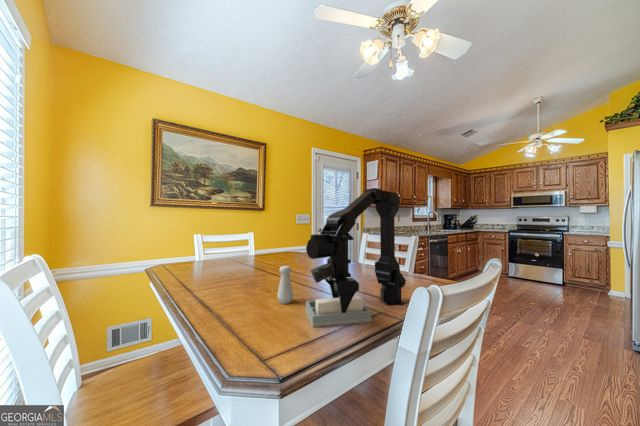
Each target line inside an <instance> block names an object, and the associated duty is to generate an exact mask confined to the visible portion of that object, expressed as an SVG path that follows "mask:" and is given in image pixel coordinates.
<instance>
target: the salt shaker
mask: <svg viewBox="0 0 640 426" xmlns="http://www.w3.org/2000/svg"><path fill="white" fill-rule="evenodd" d="M278 272H279V273H280V281H279V284H278V290H277V299H278V302H279V304H283V305H286V304H287V305H288V304H291V303H292V300H293V298H294V292H293V286H292V279H291V274H290V273H292V267H291V266H289V265H283V266H280V267H279V271H278Z"/></svg>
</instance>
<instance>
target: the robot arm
mask: <svg viewBox="0 0 640 426" xmlns="http://www.w3.org/2000/svg"><path fill="white" fill-rule="evenodd" d="M372 205H374V206H375V211H376V213H377V214H378V215H379V219H380V221H379V224H380V225H379V226H380V227H379V229H380V230H379V231H380V233H379V234H380V238H379V239H380V240H379V241H380V242H379V243H380V257H379V258H378V260H377V261H375V262H374V273H375V277H376V280H377V284H381V288H380V297H379V300H380V301H381V302H383V303H384V304H386V305H402V304H404V303H405V302H404V301H403V300H402V288H404V287H405V286H406V278H405V277H404V276H403V274H402V273H401V267H400V263H399V261H398V260H397V258H396V256H395V255H396V253H395V252H396V251H395V250H396V249H395V248H396V247H395V246H396V242H395V240H396V239H395V238H396V237H395V217H396V215H397V213H399V210H400V196H399V195H398V194H397V193H396V192H395V191H393V192H391V191H388V190H383V189H380V188H377V187H373V188H372V187H371V188H367V189H365V190H364V191H363V192H362V194H360V195H359V196H358V197H357V198H355V199H354V200H353V201H352V202H351V203H349V205H347V206H346V207H345V208H343V209H340V210H338V211H336V212H334V213H331V214H330V215H328V217H326V221H325V224H324V225H323V227H322V229H321V231H320V233H318V234H311V235H310V239H309V240H308V241H307V244H306V246H305V247H306V250H305V251H306V254H307V256H308V258H310V259H312V260H315V259H323V258H327V260H326V263H324V264H321V265H319V266H317V267H314V268H312V269H310V272H311V275H312V277H313V281H315V284H316V283H317V284H318V283H320V282H322V281H323V280H324V281H325V282H326V283H327V284H328V285H329V288H330V291H331V297H332V298H339V299H340V306H341V311H342V313H346V311H347V309H348V306H349V304H350V302H351V300H352V298H353V296H355V294H357V292H359V291H360V283H359V282H358V281H357V280H356V279H354V278H353V277H352V273H350V272H349V271H350V269H349V268H350V264H351V259H349V257H350V256H349V251H350V250H349V241H354V236H352V235H351V234H350V231H351V230H352V229H353V228H354V227H355V225H356V220H357V218H359V217H360V216H361V215H362V214H363V213H364V212H365V211H366V210H367V209H368V208H369V207H370V206H372Z"/></svg>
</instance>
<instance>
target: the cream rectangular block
mask: <svg viewBox="0 0 640 426" xmlns="http://www.w3.org/2000/svg"><path fill="white" fill-rule="evenodd" d="M314 301H315V306H316V315H321V314H334V313H342V311H341V306H340V299H339V298H333V297H332V298H330V297H329V298H318V299H315V300H314ZM363 304H364V299H363V298H362V297H361V296H359V295H354V296H353V298H352V300H351V302H350V304H349V306H348V309H347V311H346V312H358V311H363Z"/></svg>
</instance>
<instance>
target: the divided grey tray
mask: <svg viewBox="0 0 640 426" xmlns="http://www.w3.org/2000/svg"><path fill="white" fill-rule="evenodd" d="M305 311H306V314H307V316H308V320H309V322H310V324H311V326H312V328H316V327H317V328H319V327H331V326H339V325H350V324H361V323H363V324H364V323H372V314H373V313H372V310H370V309H369V308H368V306H366V305H365V304H364V303H363V311H358V312H346V313H334V314H321V315H316V306H315V300H306V301H305Z"/></svg>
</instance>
